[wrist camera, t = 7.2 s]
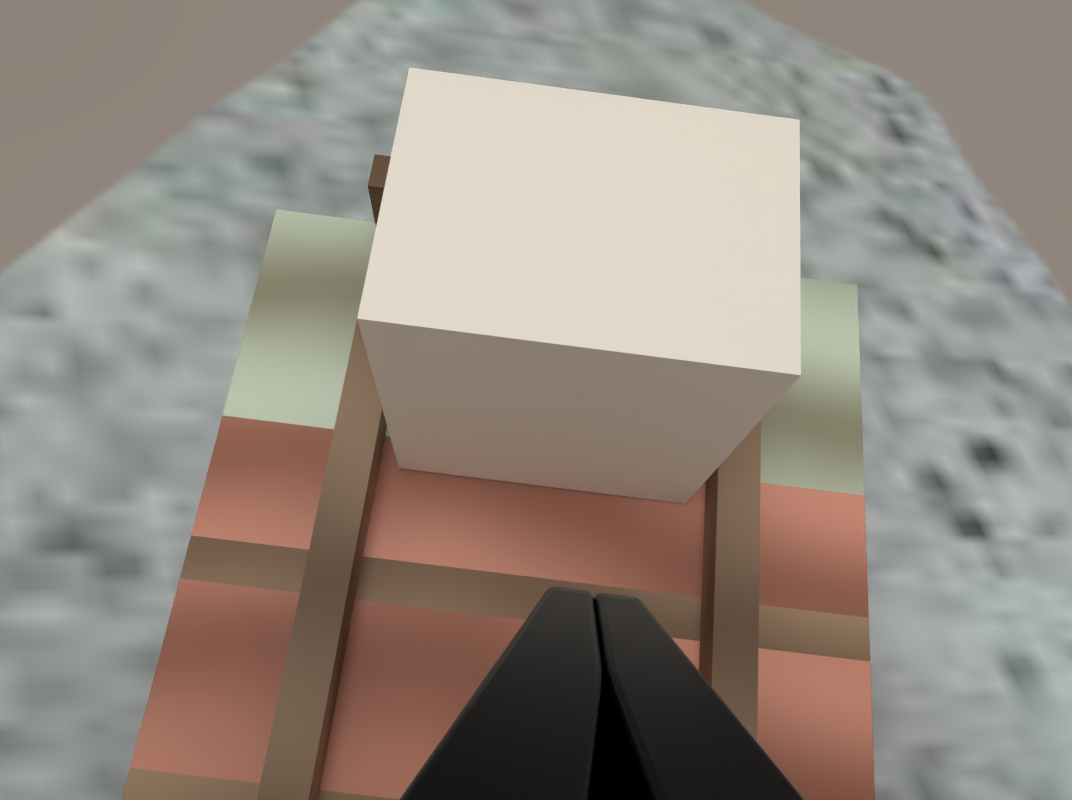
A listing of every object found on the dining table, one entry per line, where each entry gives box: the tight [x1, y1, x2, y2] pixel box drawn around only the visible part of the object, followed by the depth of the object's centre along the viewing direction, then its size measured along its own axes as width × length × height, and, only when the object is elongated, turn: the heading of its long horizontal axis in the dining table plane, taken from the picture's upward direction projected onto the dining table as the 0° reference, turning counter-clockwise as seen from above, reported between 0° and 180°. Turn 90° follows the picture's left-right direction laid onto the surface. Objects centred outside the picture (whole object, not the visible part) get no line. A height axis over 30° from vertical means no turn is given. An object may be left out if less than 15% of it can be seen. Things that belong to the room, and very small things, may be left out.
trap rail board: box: [122, 155, 875, 800], centre depth 18 cm, size 21×16×4 cm
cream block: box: [357, 68, 801, 504], centre depth 18 cm, size 5×7×8 cm
